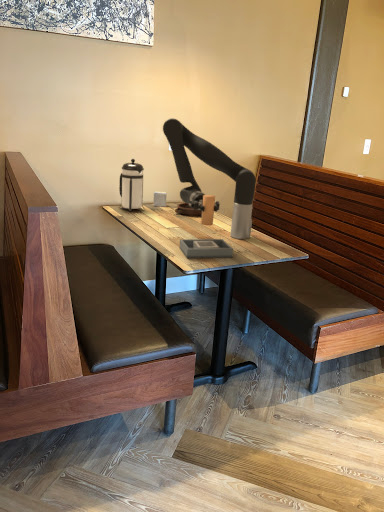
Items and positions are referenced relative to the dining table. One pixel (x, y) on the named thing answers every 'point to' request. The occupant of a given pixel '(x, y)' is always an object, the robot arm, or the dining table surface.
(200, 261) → the dining table surface
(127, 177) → the coffee press
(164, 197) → the medicine box
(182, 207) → the dish
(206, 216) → the rounded orange object
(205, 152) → the robot arm
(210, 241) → the walled box
